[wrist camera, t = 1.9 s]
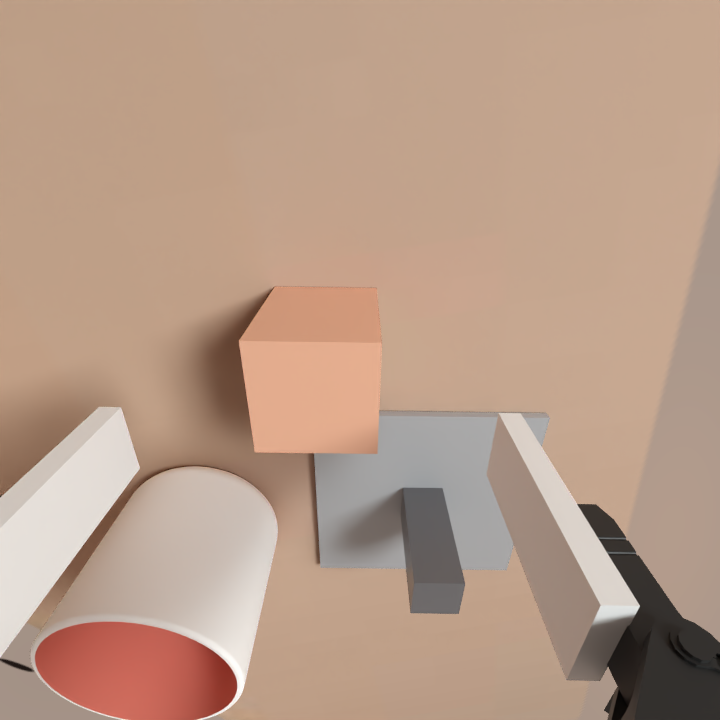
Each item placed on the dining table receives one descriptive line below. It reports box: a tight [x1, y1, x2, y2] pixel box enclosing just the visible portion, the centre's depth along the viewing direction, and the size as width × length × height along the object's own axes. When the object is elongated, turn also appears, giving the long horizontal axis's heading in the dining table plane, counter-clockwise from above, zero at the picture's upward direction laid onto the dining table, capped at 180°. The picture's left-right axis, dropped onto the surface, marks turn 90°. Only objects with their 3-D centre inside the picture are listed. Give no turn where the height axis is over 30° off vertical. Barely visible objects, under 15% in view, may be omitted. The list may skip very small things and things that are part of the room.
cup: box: [30, 466, 278, 720], centre depth 23 cm, size 10×10×10 cm
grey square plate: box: [314, 411, 550, 614], centre depth 24 cm, size 14×14×7 cm
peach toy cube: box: [239, 287, 382, 454], centre depth 18 cm, size 5×5×7 cm
